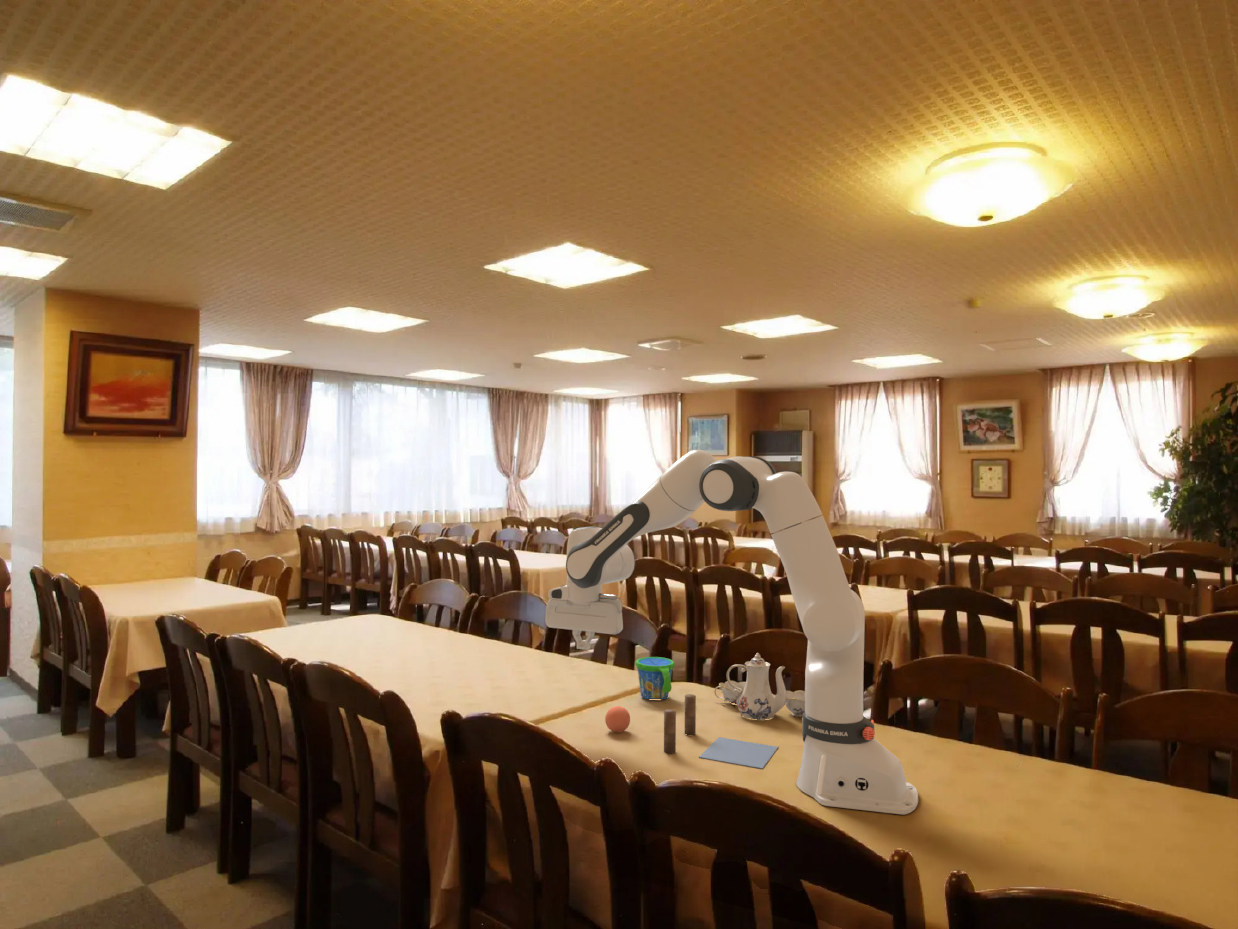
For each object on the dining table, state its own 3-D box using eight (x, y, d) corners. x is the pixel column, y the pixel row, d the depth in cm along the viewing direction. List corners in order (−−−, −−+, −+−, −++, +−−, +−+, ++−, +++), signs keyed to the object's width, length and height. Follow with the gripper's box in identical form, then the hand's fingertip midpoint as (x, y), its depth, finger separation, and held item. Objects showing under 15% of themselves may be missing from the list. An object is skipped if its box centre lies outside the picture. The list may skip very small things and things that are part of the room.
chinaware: (821, 718, 192) (822, 654, 194) (809, 731, 178) (811, 660, 180) (718, 704, 204) (720, 643, 206) (699, 714, 189) (702, 649, 191)
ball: (634, 730, 177) (634, 705, 177) (623, 737, 172) (623, 711, 172) (611, 726, 180) (612, 701, 180) (600, 733, 174) (601, 708, 174)
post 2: (697, 733, 175) (697, 695, 175) (693, 736, 173) (693, 698, 173) (686, 731, 176) (687, 693, 177) (683, 734, 174) (683, 696, 174)
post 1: (677, 750, 163) (677, 710, 164) (673, 754, 161) (673, 713, 161) (666, 749, 164) (666, 708, 165) (662, 752, 162) (662, 711, 162)
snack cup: (682, 704, 198) (683, 666, 198) (646, 707, 195) (646, 669, 195) (662, 689, 213) (662, 653, 213) (628, 691, 210) (628, 655, 210)
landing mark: (778, 747, 166) (778, 746, 166) (762, 769, 153) (762, 768, 153) (718, 738, 172) (718, 737, 172) (698, 757, 159) (698, 757, 159)
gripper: (627, 593, 179) (627, 650, 179) (555, 587, 188) (554, 642, 187) (616, 597, 173) (615, 656, 173) (542, 591, 182) (541, 647, 182)
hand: (583, 648), depth 180 cm, fingers closed
